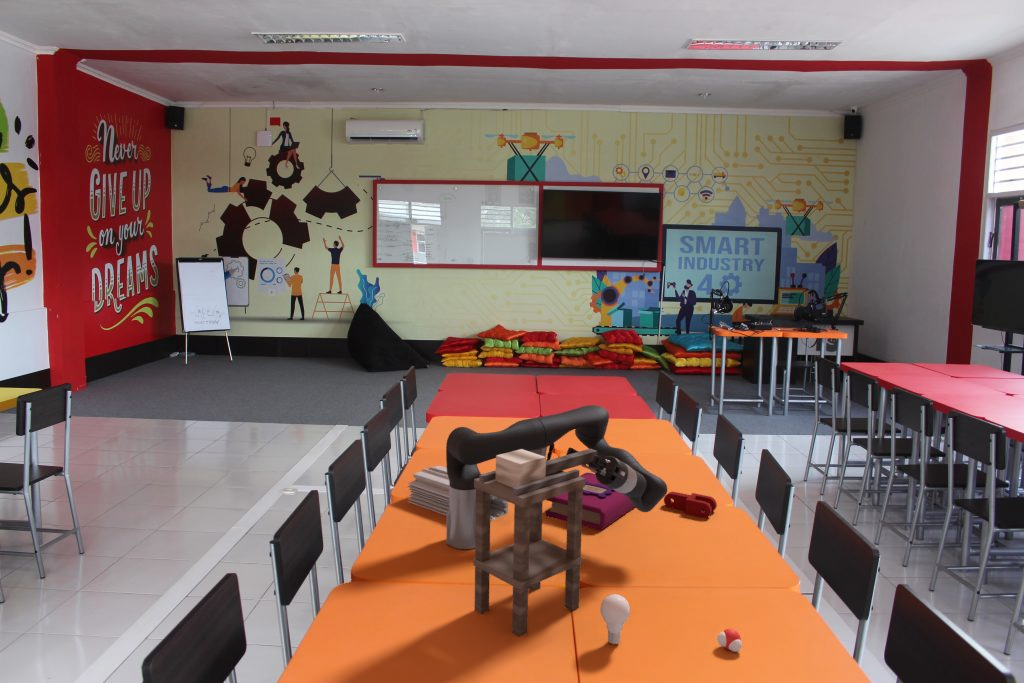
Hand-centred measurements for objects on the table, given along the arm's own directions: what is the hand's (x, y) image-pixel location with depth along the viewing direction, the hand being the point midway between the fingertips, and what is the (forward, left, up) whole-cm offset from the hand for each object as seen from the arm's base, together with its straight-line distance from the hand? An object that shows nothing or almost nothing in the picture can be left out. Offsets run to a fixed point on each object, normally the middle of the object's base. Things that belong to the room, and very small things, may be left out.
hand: (581, 455), depth 184 cm
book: (-6, +53, -35) cm, 64 cm away
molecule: (+37, -17, -35) cm, 54 cm away
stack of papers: (-48, +40, -35) cm, 71 cm away
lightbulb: (+13, -23, -34) cm, 43 cm away
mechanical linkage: (+23, +63, -35) cm, 75 cm away
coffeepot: (-30, +68, -34) cm, 82 cm away
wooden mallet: (-5, -8, -2) cm, 10 cm away
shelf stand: (-9, -15, -34) cm, 38 cm away
